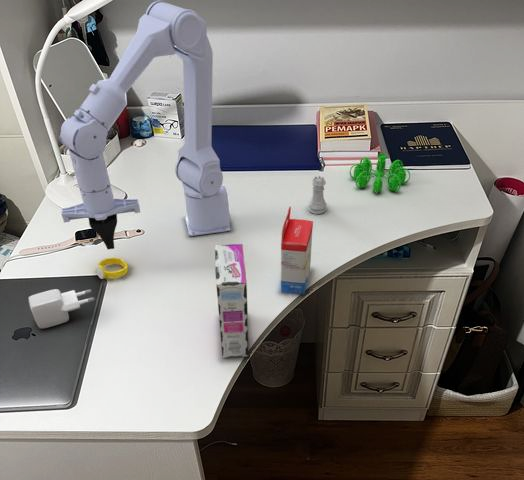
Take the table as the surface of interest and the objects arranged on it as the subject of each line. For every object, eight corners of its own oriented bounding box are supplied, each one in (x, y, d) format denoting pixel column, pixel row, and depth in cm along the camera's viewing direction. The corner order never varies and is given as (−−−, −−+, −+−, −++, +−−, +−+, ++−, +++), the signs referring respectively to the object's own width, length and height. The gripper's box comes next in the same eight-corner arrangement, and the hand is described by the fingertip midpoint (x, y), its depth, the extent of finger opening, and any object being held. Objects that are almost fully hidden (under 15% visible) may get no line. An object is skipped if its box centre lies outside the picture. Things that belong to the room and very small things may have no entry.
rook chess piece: (304, 212, 127) (306, 181, 121) (311, 203, 130) (312, 172, 124) (323, 216, 125) (325, 184, 120) (328, 206, 128) (331, 175, 123)
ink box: (304, 295, 105) (307, 231, 95) (280, 292, 106) (280, 228, 96) (310, 269, 111) (314, 206, 101) (287, 267, 112) (288, 204, 101)
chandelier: (345, 193, 133) (348, 167, 128) (352, 165, 143) (355, 140, 138) (407, 199, 130) (412, 173, 125) (409, 170, 140) (414, 144, 135)
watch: (132, 263, 110) (107, 273, 107) (133, 274, 112) (109, 284, 109) (115, 252, 113) (90, 261, 110) (116, 263, 115) (92, 272, 112)
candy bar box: (250, 357, 94) (247, 283, 82) (222, 359, 94) (214, 285, 82) (246, 315, 102) (243, 242, 90) (220, 317, 101) (213, 243, 90)
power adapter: (94, 300, 105) (86, 276, 101) (99, 315, 102) (92, 291, 98) (36, 317, 102) (25, 293, 98) (39, 333, 99) (29, 309, 95)
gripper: (53, 200, 96) (73, 262, 106) (135, 190, 98) (147, 252, 108) (55, 182, 101) (74, 243, 111) (133, 172, 103) (145, 233, 113)
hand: (110, 246), depth 110 cm, fingers closed
